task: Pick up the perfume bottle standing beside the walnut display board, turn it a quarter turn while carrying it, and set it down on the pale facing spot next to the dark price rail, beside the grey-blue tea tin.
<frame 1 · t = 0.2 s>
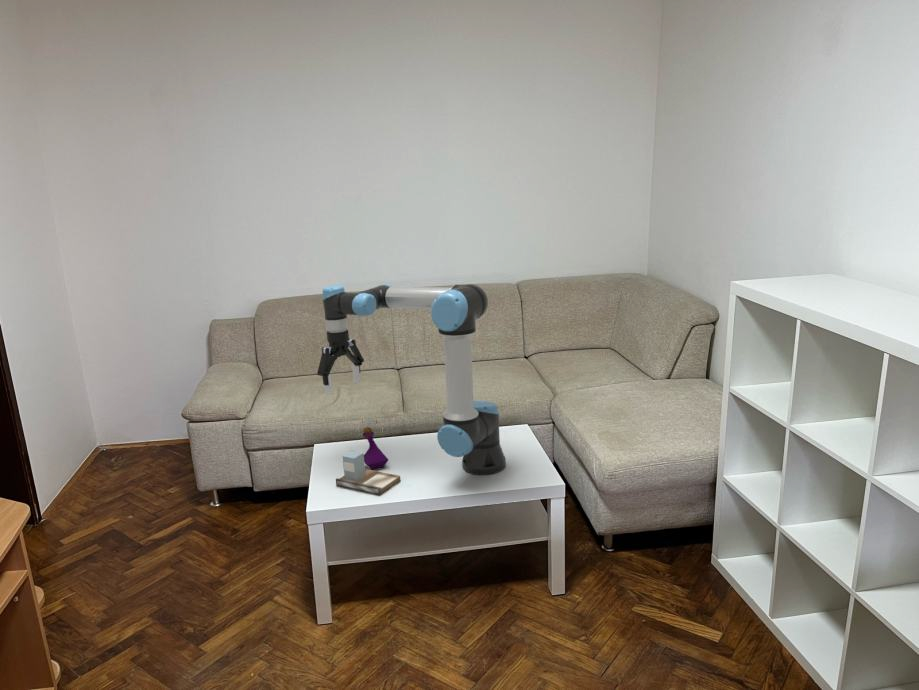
hand: (343, 388, 256), 27 cm above the table, fingers open, 13 cm apart
tea tin: (355, 476, 243), point 2 cm above the table, touching display board
display board: (369, 483, 242), on the table
perfume bottle: (375, 467, 254), on the table
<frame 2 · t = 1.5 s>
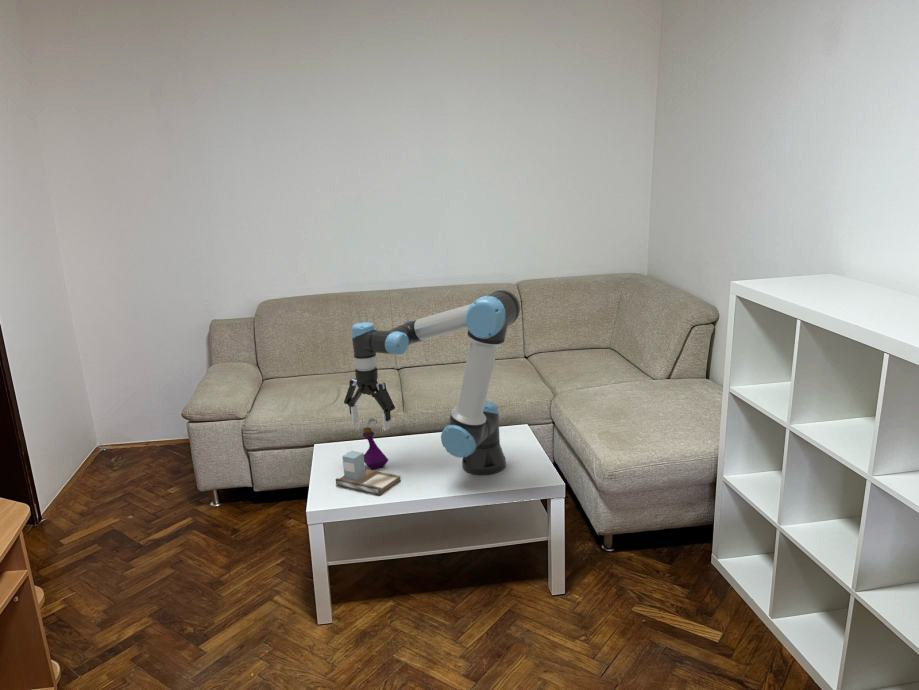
hand: (370, 426, 251), 15 cm above the table, fingers open, 13 cm apart
nothing on the table moved.
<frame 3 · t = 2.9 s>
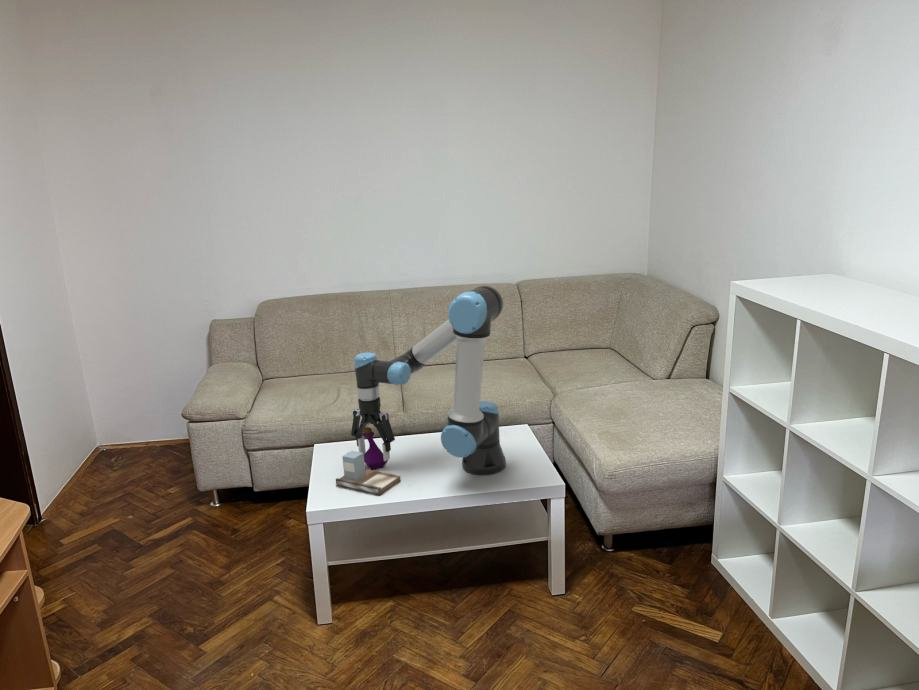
hand: (374, 457, 253), 4 cm above the table, fingers closed on perfume bottle, 10 cm apart
perfume bottle: (375, 467, 254), on the table, touching gripper
everything else where it was.
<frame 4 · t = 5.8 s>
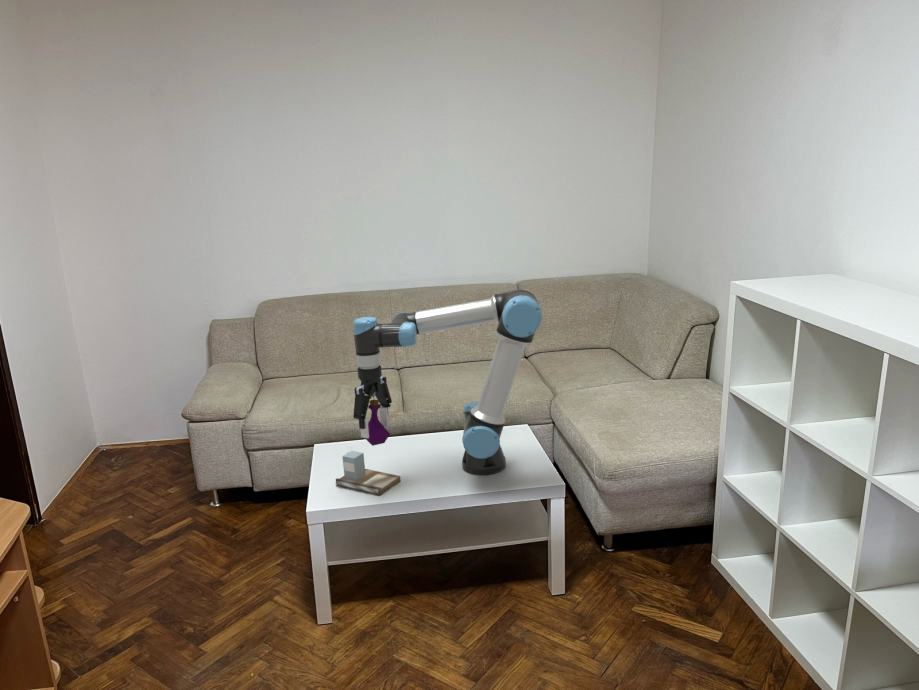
hand: (375, 431, 234), 19 cm above the table, fingers closed on perfume bottle, 10 cm apart
perfume bottle: (376, 443, 235), point 15 cm above the table, touching gripper
everything else where it was.
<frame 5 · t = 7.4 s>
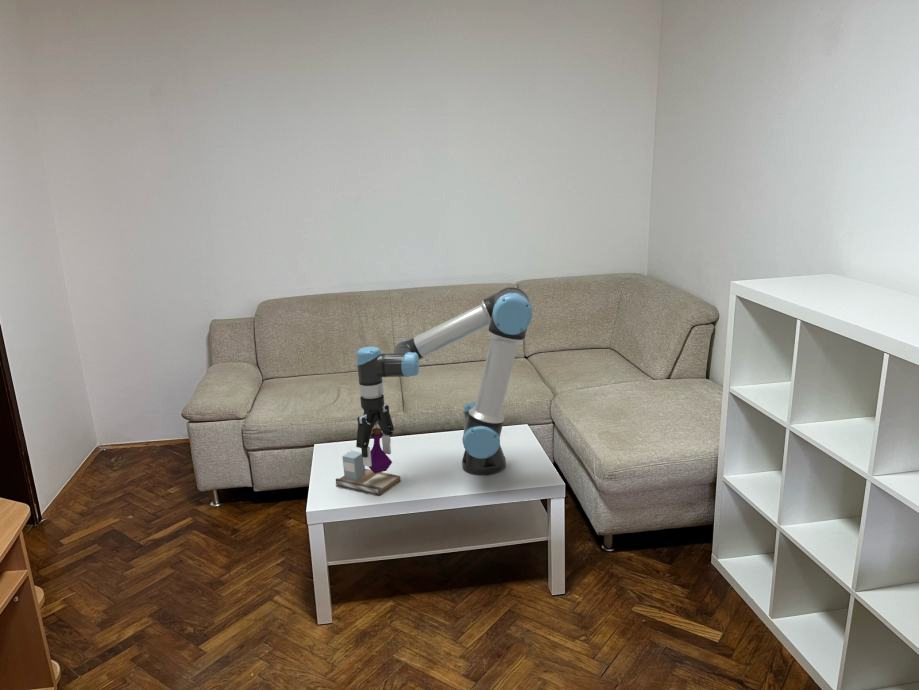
hand: (377, 459, 236), 10 cm above the table, fingers closed on perfume bottle, 10 cm apart
perfume bottle: (378, 470, 237), point 6 cm above the table, touching gripper
everything else where it was.
when the fingers open (7 cm above the table, at t = 8.5 s): perfume bottle drops 1 cm, resting on display board.
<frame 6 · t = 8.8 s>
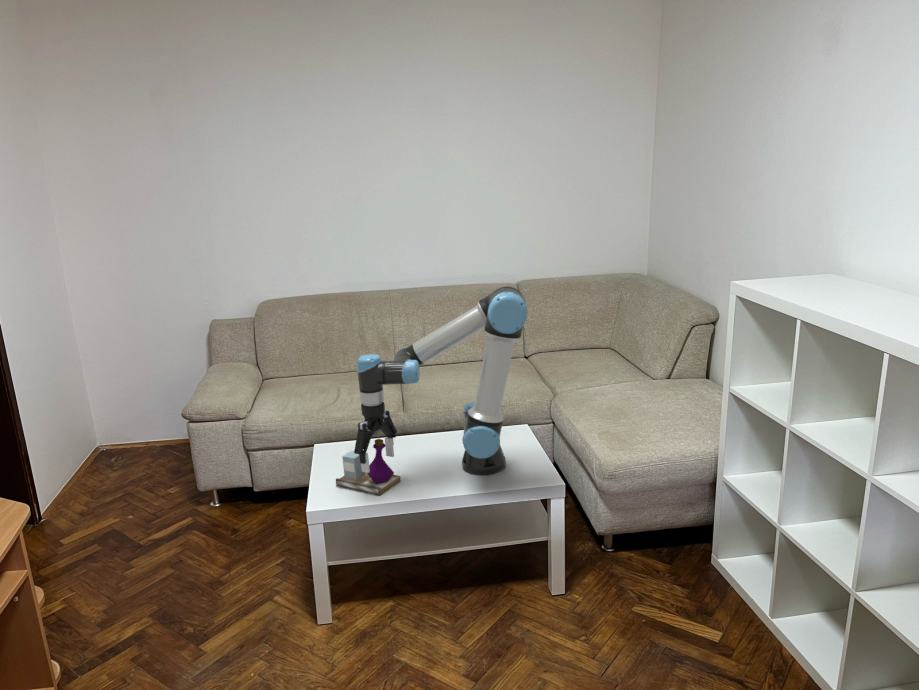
hand: (378, 463, 237), 8 cm above the table, fingers open, 13 cm apart
perfume bottle: (380, 481, 238), point 2 cm above the table, touching display board
everything else where it was.
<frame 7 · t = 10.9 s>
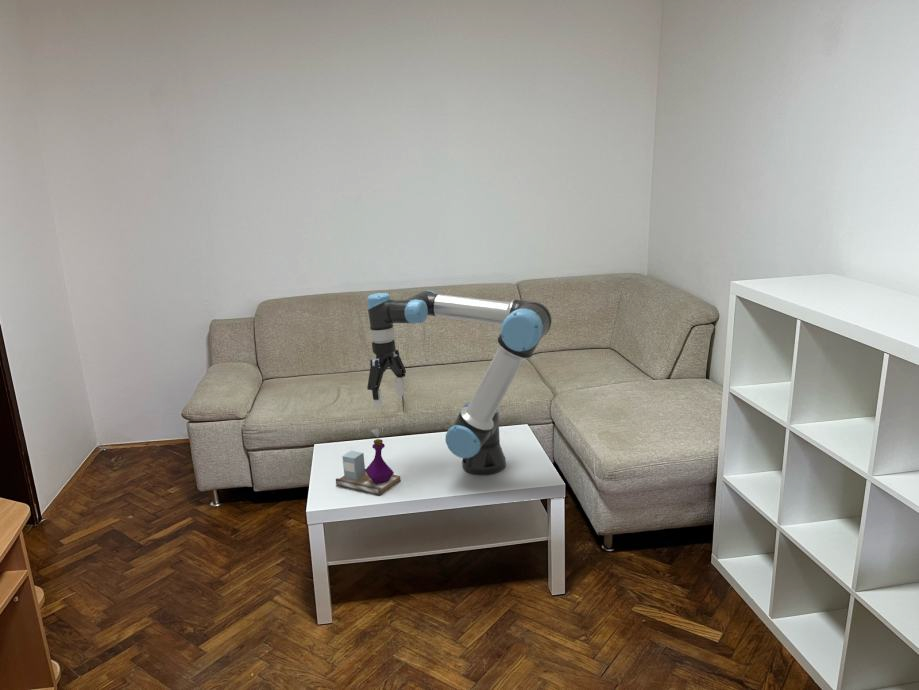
hand: (389, 401, 241), 26 cm above the table, fingers open, 13 cm apart
nothing on the table moved.
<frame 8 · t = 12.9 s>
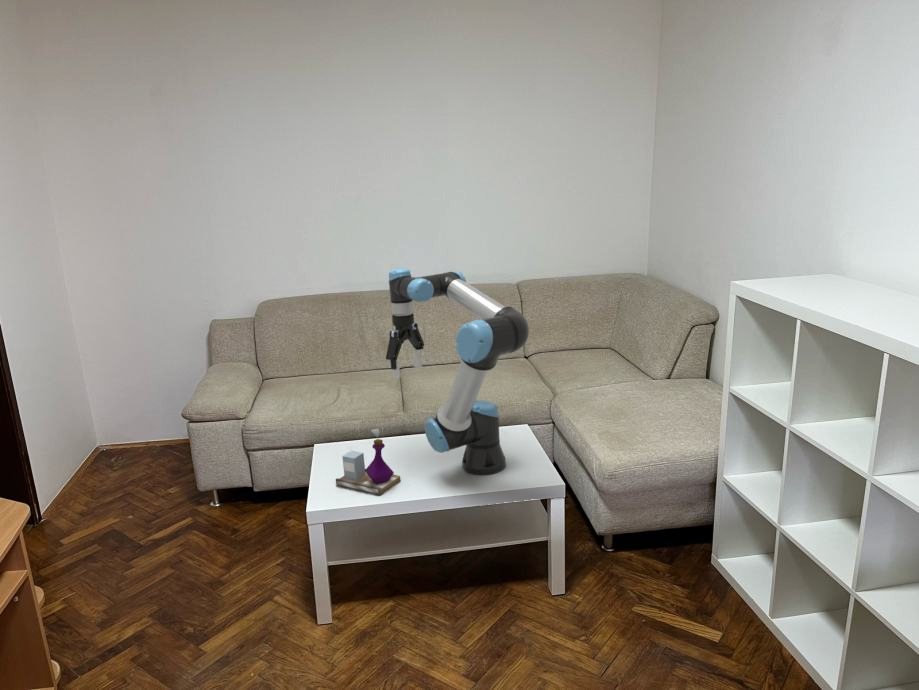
hand: (407, 372, 254), 32 cm above the table, fingers open, 13 cm apart
nothing on the table moved.
at the end: perfume bottle inside the target area on the display board (0.2 cm from its centre), point 1.9 cm above the display board's base; perfume bottle tilted 0°; the gripper is holding nothing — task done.
